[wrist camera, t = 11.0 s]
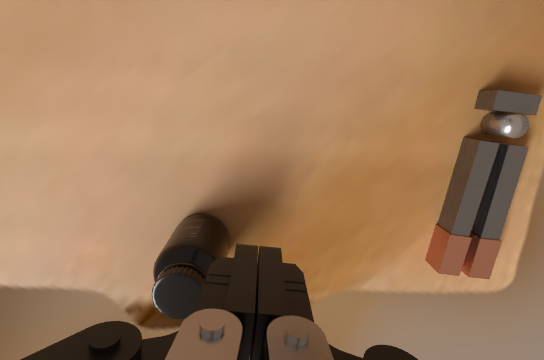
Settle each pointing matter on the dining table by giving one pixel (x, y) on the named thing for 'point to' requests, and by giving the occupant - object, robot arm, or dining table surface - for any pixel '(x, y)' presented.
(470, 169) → the tong arm
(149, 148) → the dining table surface
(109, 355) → the robot arm
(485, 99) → the tongs fixed
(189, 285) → the supplement bottle
